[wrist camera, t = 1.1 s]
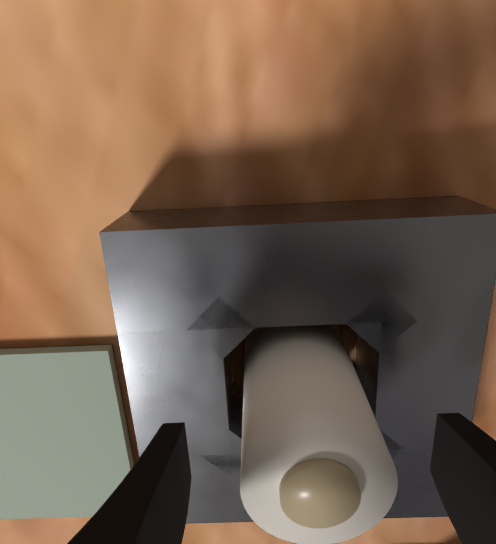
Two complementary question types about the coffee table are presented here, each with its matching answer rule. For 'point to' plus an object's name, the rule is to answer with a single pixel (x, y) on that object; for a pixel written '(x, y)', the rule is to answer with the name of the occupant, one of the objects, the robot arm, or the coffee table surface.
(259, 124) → the coffee table surface
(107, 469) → the mat
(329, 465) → the plug
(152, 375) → the housing
